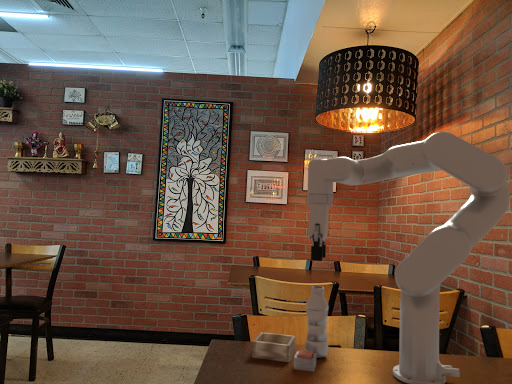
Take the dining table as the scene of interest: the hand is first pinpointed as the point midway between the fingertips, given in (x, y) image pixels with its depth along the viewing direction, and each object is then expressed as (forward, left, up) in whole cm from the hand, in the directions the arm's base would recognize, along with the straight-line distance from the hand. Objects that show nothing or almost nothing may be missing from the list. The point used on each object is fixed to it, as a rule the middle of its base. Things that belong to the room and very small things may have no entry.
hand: (318, 258), depth 119 cm
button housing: (+2, +9, -28) cm, 30 cm away
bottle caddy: (+12, +3, -28) cm, 31 cm away
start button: (+2, +9, -28) cm, 29 cm away
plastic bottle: (0, 0, -28) cm, 28 cm away
